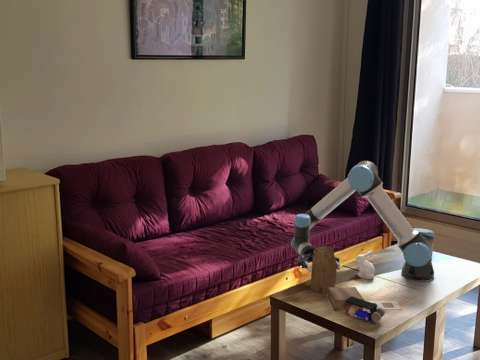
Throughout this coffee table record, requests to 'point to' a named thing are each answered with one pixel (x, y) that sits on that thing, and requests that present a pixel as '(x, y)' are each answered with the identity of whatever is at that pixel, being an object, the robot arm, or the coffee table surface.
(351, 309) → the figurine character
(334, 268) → the block
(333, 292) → the tower base
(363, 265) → the rabbit
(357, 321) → the coffee table surface
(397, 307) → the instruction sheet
